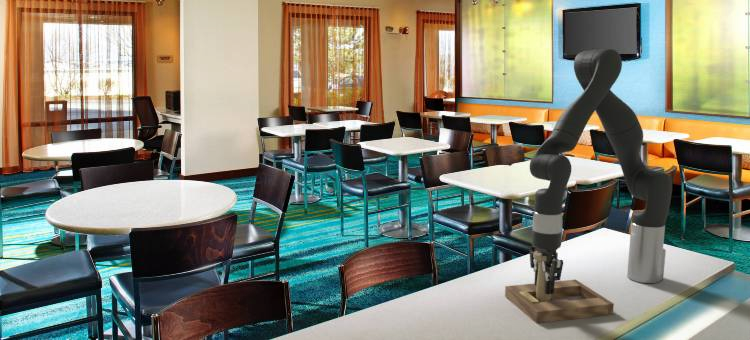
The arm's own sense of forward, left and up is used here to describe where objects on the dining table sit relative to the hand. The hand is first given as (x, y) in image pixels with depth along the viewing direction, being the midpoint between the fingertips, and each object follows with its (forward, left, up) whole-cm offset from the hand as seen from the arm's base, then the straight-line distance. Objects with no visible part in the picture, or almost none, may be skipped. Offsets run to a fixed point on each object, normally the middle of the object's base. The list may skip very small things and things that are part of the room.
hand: (543, 289), depth 164 cm
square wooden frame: (-4, 0, -5) cm, 6 cm away
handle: (0, 0, -5) cm, 5 cm away
